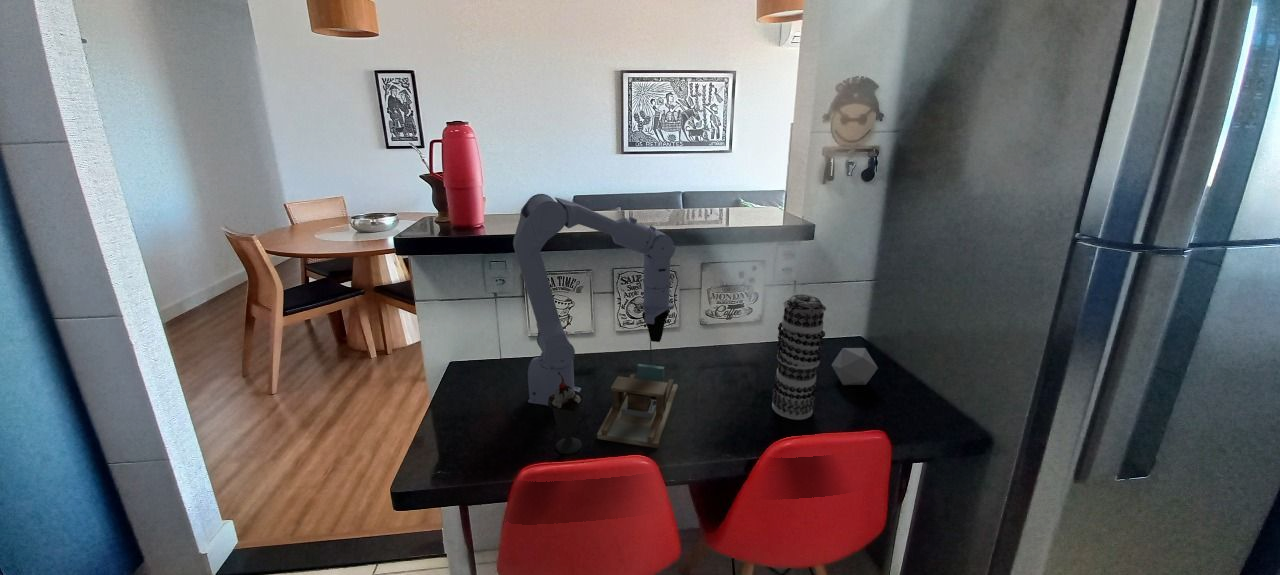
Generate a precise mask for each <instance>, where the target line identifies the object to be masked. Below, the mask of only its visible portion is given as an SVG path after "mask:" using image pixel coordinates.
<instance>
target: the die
mask: <svg viewBox="0 0 1280 575" xmlns="http://www.w3.org/2000/svg"><path fill="white" fill-rule="evenodd" d="M831 367H832V368H833V371H834V372H835V374H836V375H837V377H838V379H839V380H840V382H841V385H843V386H866V385H867V383H868V382H869V381H870V380H871V378H872V376H874V374H875V373H876V371H877V370H878V369H879V367H878V366H877V364H876V362H875V361H874V359H873V358H872V357H871V354H870V353H869V351H868V350H867V348H866V347H842V348H841V350H840V351H839V352H838V354H837V356H836V357H835V359H834V361H833V362H832V363H831Z"/></svg>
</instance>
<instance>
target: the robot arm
mask: <svg viewBox="0 0 1280 575" xmlns="http://www.w3.org/2000/svg"><path fill="white" fill-rule="evenodd" d="M555 200H556V201H555ZM578 225H580V226H583V227H585V228H589V229H591V230H592V229H593V230H595V231H598V232H601V233H604V234H607V235H610V236H611V238H612V241H613V243H614V244H616V245H619V246H621V247H624V248H626V249H629V250H631V251H635V252H637V253H639V254H643V303H642V308H643V313H642V319H643V320H644V324H646V327H647V330H648V335H649V338H650V341H651V342H656V343H660V342H661V340H662V337H663V332H664V329H665V324H666V321H667V318H668V316H669V315H670V312H671V310H673V309H674V308H675V303H673V302H670V282H671V280H670V278H671V277H670V276H671V260H672V257H674V254H675V252H676V246H675V245H674V241H673V239H672V237H670V235H668V234H666V233H664V232H662V231H660V230H658V229H657V227H654V226H652V225H649V226H647V225H644V224H641V223H639V222H638V219H636V218H634V217H633V216H629V218H628V217H622V218H619V219H617V220H614V219H613V218H611V217H608V216H605V215H603V214H601V213H599V212H597V211H594V210H592V209H590V208H587V207H586V206H582V205H580V204H578V203H576V202H573V201H569V200H566V199H563V198H559V197H555V196H554V199H553V197H551V196H550V195H548V194H545V193H537V194H534V195H532V196H531V197H530V198H529V199H528V200H527V201H526V203H524V205H523V207H522V208H521V209H520V215H519V220H518V224H517V227H516V231H515V234H514V236H513V241H512V246H513V249H514V253H515V256H516V259H517V262H518V266H519V269H520V272H521V276H522V278H523V282H524V285H525V289H526V291H527V296H528V298H529V302H530V304H531V308H532V312H533V314H534V318H535V321H536V328H537V335H536V343H537V345H538V347H539V348H540V350H541V353H540V356H539V357H538V356H537V357H533V358H532V359H531V361H530V362H529V365H528V370H527V383H528V384H527V385H528V395H529V396H528V397H529V399H528V400H527V403H529V404H534V405H541V406H548V398H549V397H550V396H551V395H553V394H555V393H556V391H557V390H558V389H559V385H560V383H562V377H563V379H564V383H566V386H569V387H571V388H572V389H573V390H574V391H577V392H579V393H581V391H582V388H581V387H578V386H575V376H574V375H575V371H574V358H575V355H576V353H575V351H576V350H575V348H574V346H573V344H572V343H571V342H570V340H569V338H568V337H567V336H566V333H565V330H564V328H563V325H562V323H561V322H562V321H561V320H560V317H559V313H558V309H557V306H556V302H555V298H554V295H553V292H552V289H551V284H550V281H549V278H548V273H547V271H546V267H545V264H544V259H543V257H542V252H541V251H542V248H543V247H544V246H545V245H546V243H547V241H549V240H550V239H551V238H553V237H554V236H555V235H557V234H558V233H559V232H561V231H562V230H563V228H565V227H566V228H567V229H571V228H573V227H576V226H578ZM558 372H560V375H561V376H562V377H561V376H560V375H559V374H558Z"/></svg>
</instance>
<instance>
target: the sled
mask: <svg viewBox="0 0 1280 575" xmlns="http://www.w3.org/2000/svg"><path fill="white" fill-rule="evenodd" d="M636 366H637V368H636V370H637V372H636V374H637V375H636V376H637V377H636V379H643V380H651V381H659V382H665V366H660V365H659V366H658V365H651V364H644V363H642V364H641V363H638V364H637V365H636ZM655 409H656V400H652V399H651V405H650V407H649V410H648V412H644V411H637V410H630V409H628V400H627V402H626V404H625V406H624V408H622V409H621V414H622V415H629V416H636V417H642V418H649V419H652V417H653V415H654V412H655Z"/></svg>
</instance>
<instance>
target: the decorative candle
mask: <svg viewBox="0 0 1280 575" xmlns="http://www.w3.org/2000/svg"><path fill="white" fill-rule="evenodd" d="M782 304H783V307H784V309H783V310H784V311H783V316H782V318H781V322H779V324H778V326H777V329H778V334H777V339H778V340H777V342H776V345H777V351H776V358H777V360H778V365H777V366H778V367H777V368H776V374H775V376H774V378H773V380H774V383H773V386H774V388H773V389H772V397H771V400H772V403H771V408H772V410H773V411H774V412H775V413H776V414H777V415H779V416H781V417H782V418H786V419H788V420H789V419H790V420H795V421H799V420H806V419H808V418H810V417H812V415H813V412H814V411H813V410H814V407H815V400H816V397H815V394H816V392H817V389H816V388H817V386H818V383H817V373H816V372H817V369H818V368H817V367H818V366H819V365H820V363H821V359H822V355H821V354H822V353H823V347H822V345H824V343H825V339H824V337H826V331H824V324H825V323H824V317H825V316H824V315H825V313H824V312H825V311H826V310H827V307H826V305H824V304H823V303H822V301H821V300H820V298H818V297H817V296H813V295H810V294H802V293H801V294H795V295H792V296H791V297H789V299H787V300H784V302H783V303H782Z"/></svg>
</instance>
